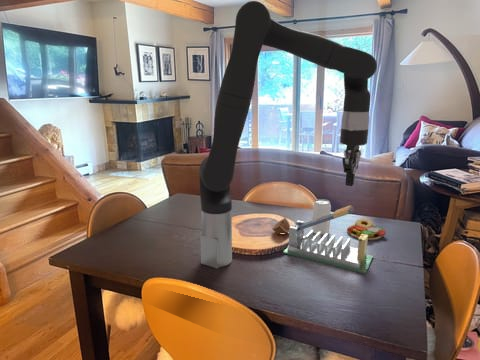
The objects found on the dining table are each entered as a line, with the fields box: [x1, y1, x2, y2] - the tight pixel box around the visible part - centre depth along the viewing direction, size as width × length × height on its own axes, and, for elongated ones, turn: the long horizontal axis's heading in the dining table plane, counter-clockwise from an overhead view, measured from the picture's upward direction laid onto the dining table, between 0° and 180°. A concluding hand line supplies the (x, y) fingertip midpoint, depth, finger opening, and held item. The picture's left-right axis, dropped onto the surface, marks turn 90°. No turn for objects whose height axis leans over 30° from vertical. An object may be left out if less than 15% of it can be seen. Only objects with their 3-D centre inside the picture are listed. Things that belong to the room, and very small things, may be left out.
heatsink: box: [282, 220, 374, 275], centre depth 114 cm, size 26×12×9 cm, turn 60°
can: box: [311, 198, 332, 236], centre depth 131 cm, size 6×6×12 cm
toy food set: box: [346, 218, 387, 241], centre depth 131 cm, size 13×13×3 cm
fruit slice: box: [271, 217, 291, 234], centre depth 131 cm, size 8×7×5 cm
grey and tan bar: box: [293, 204, 355, 231], centre depth 113 cm, size 21×4×2 cm, turn 59°
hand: (349, 185), depth 106 cm, fingers closed
